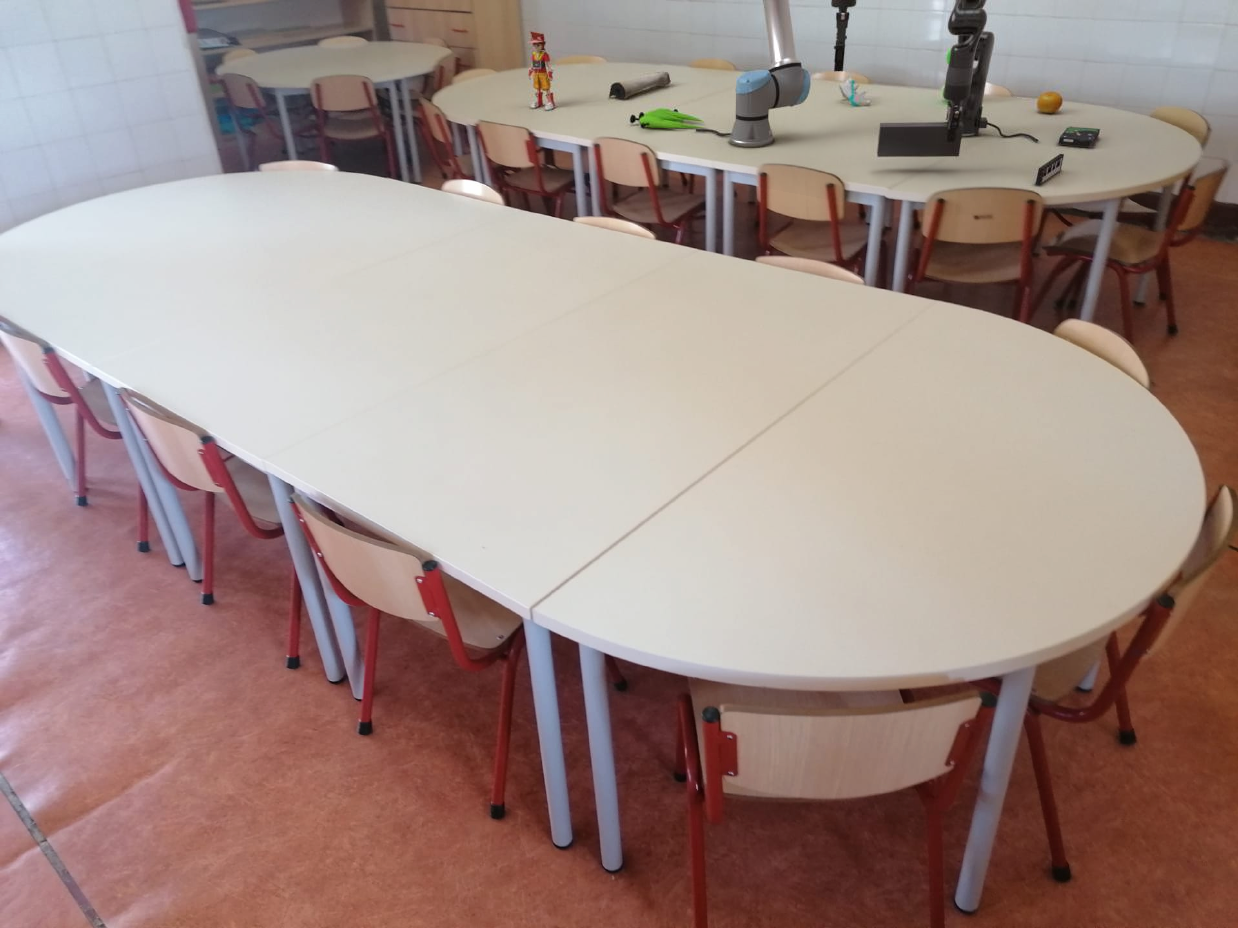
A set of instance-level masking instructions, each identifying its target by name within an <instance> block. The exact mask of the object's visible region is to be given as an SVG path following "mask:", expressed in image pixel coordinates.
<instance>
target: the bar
mask: <svg viewBox="0 0 1238 928" xmlns="http://www.w3.org/2000/svg"><path fill="white" fill-rule="evenodd" d="M952 125H956V123H952ZM948 127H949V122H947V121H929V122H928V121H920V122H919V121H918V122H917V121H916V122H909V121H908V122H879V129H878V139H877V148H876V155H877V158H910V157H912V158H921V157H924V158H926V157H933V158H934V157H938V158H940V157H943V158H944V157H946V158H947V157H948V158H949V157H953V158H954V157H960V152H961V144H962V140H963V139H962V138H963V136H962V133H963V123H962V122H959V128H958V129H957V130H956V136H955V141H954V142H947V137H948V131H949V129H948Z"/></svg>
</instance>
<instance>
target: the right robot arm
mask: <svg viewBox="0 0 1238 928" xmlns="http://www.w3.org/2000/svg"><path fill="white" fill-rule="evenodd" d="M986 3H987V0H955V1H954V5H953V7H952V11H951V12H950V15H949V18H948V21H947V30H948V33H949V34H950V35H952V36H957V43H958V44H957V43H955V44H953V45H952V46H951V48H950V49H951V51H950V58H949V64H948V67H947V70H946V73H945V82H944V87H945V88H944V87H943V89H944V95H943V94H942V97H943V99H944V100H945V99H946V100H949V101H948V102H947V105H946V118H945V122H949V127H948V129H949V131H948V137H947V142H954V141H955V136H956V130H957V129H958V128H959V122H962V123H963V133H962V137H973V136H979V131H980V129H987V128H988V126H990V127H992V128H994V129H996V130H997V131H998V133H999V135H1000V137H1002V138H1006V139H1007V138H1015V137H1020V136H1021V137H1027V138H1030V139H1031V140H1033V141H1034V142H1036V143H1037V142H1039V139H1037V138H1036V137H1034V136H1033V135H1031V134H1029V133H1014V134H1010V135H1009V134H1008V135H1005V134H1003V132H1002V130H1001V128H1000V127H999V126H997V125H996V124H994V123H992V122H988V119H987V117H986V116H983V117H982V115H983V109H984V107H983V102H984V96H985V90H986V83H987V79H988V74H989V70H990V66H991V65H990V64H991V59H992V55H993V52H994V47H995V34H994V32H993V31H989V30H988V31H987V30H985V28H986V25H987V21H988V13H987V11H986V10H985V9H984V7H985V5H986ZM974 62H977V64H976V66H975V67H974V64H975V63H974ZM946 100H945V101H946ZM952 123H956V125H952Z"/></svg>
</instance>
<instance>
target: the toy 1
mask: <svg viewBox="0 0 1238 928" xmlns="http://www.w3.org/2000/svg"><path fill="white" fill-rule="evenodd" d="M529 33H530V35H531V36H528V37H527V38H528V39H529V40H528V41H527V43H529V44H530V43H531V44H532V48H533V50H534V51H533V52H532V55H531V58H530V59H531V63H530V66H528V74H527V75H528V76H527V77H528V79H529V80H531V75H532V74H533V84H532V85H533V86H532V87H533V88H534V89H535V90H536V92H534V95H535V97H536V100H535V101H533V102H531V105H530V108H531V109H535V108H538V107H542V106H544V101H543V100H544V99H543V95H544V92H546V94H545V97H546V99H547V103H546V104H545V106H544V110H546V111H549V110H553V109H554V107H555V106H556V105H555V99H554V92H551V91H550V90H551V86H552V84H551V82H552V81H553V80H554V77H553V73H554V71H555V70H554V69H552V68H551V63H550V61H551V59H550V58H551V57H550V54H549V53H548V52H547V50H546V48H545V46H546V44H547V41H545V35H544V33H543V32H542V33H539V32H535V31H529Z"/></svg>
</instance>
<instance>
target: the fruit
mask: <svg viewBox="0 0 1238 928" xmlns="http://www.w3.org/2000/svg"><path fill="white" fill-rule="evenodd" d="M1063 102H1064V101H1063V97H1062V95H1061V94H1060V93H1058V92H1056V91H1046V92H1043V93H1042V94H1041V95H1039V97H1038V99H1037V101H1036V108H1037V110H1038V111H1040V112H1041V113H1044V114H1053V113H1056V112H1058V111H1059V110H1060V109H1061V107H1062V106H1063Z"/></svg>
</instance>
